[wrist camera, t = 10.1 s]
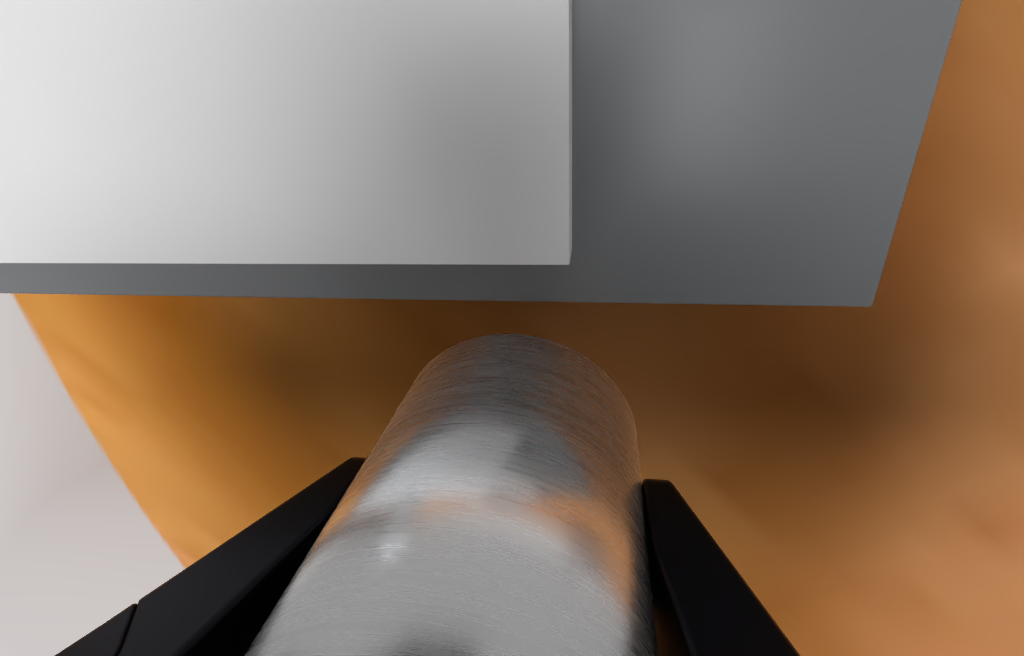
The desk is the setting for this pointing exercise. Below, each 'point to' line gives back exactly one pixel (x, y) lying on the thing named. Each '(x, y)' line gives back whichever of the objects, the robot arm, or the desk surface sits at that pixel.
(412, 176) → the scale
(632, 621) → the spacer
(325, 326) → the desk surface
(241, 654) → the robot arm
